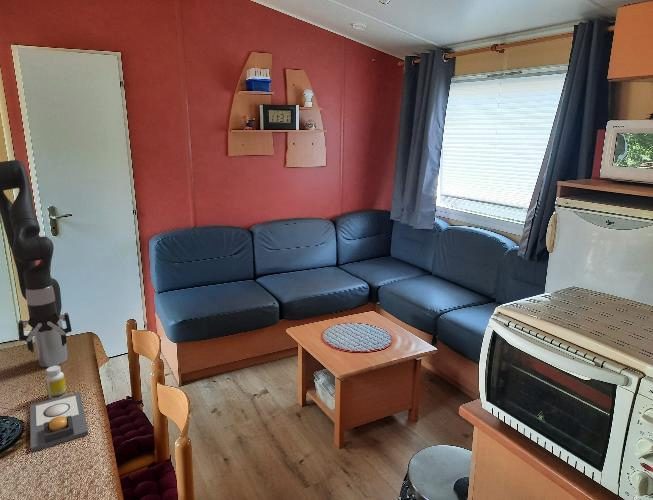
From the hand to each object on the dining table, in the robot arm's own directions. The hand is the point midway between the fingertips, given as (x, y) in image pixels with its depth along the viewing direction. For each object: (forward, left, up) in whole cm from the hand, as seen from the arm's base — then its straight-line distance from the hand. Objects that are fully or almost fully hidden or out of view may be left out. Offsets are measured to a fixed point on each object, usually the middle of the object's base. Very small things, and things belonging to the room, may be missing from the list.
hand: (48, 347), depth 148 cm
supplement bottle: (0, 0, -17) cm, 17 cm away
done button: (+20, +13, -15) cm, 28 cm away
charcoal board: (+13, +9, -17) cm, 23 cm away
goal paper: (+10, +6, -16) cm, 20 cm away
